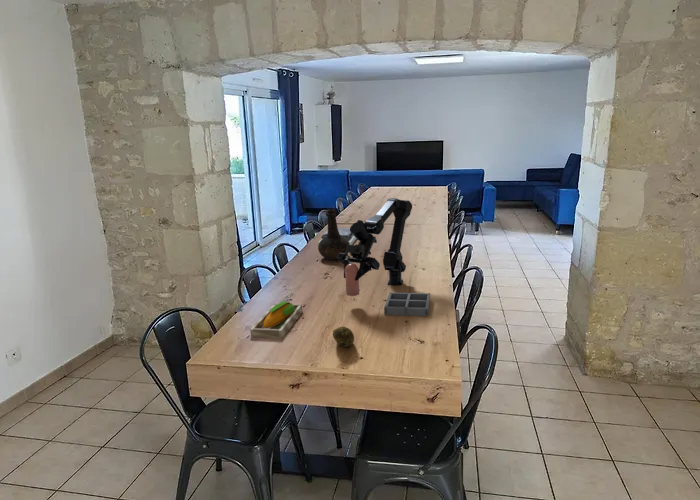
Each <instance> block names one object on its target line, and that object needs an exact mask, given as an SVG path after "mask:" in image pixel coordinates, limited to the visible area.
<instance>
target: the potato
mask: <svg viewBox="0 0 700 500" xmlns="http://www.w3.org/2000/svg"><path fill="white" fill-rule="evenodd" d="M332 337H333V339H334V341H335V342H336V343H337V345H338V347H344V348H348V347H350V346H351V345H352V344H353V343H354V342H355V334H354V332H353V331H352V329H350V328H348V327H347V326H338V327H336V328H335V329H333V331H332Z"/></svg>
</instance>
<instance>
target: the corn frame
mask: <svg viewBox="0 0 700 500" xmlns="http://www.w3.org/2000/svg"><path fill="white" fill-rule="evenodd" d="M277 304H278V303H273V304H272V306H271V307H270V308H269V309H268V310H267V311H266V312H265V313H264V314H263V315H262V316H261V317H260V318H259V319H258V320H257V322H256V323H255V324H254V325H253V326H252V327H251V328H250V329H249V331H250V337H251V338H252V337H253V338H267V339H268V338H270V339H283V338H284V336H285V335H286V334H287V333H288V331H289V330H290V328H291V327H292V326H293V325H294V323H295V322H296V320H298V318H299V316H301V314H302V313H303V305H302V304H294V303H292V304H293V306H294V308H295V310H294V312H293V313H292V315H291V316H290V317H288V318H287V319H288V320H287V319H286V320H287V321H286V320H285V321H286V322H285V323H284V324H283V325H282V326H281V327H280V328H278V329H276V328H264V327H263V323H264V321H265V319H266V317H267V316H268V315H269V314H270V313H271V312H270V310H271V309H272V308H273V307H274V306H275V305H277Z"/></svg>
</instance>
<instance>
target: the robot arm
mask: <svg viewBox="0 0 700 500" xmlns="http://www.w3.org/2000/svg"><path fill="white" fill-rule="evenodd" d="M412 210H413V204H412V203H411V201H410V200H407V199H405V200H404V199H398V198H394V197H393V198H391V197H389V198H388V199H387V200H386V202H385V203H384V205H383V206H382V207H381V208H380V209H379V211H377V213H376V214H375V215H374V216H371V217H369V218H368V219H366V220H365V222H364V221H363V220H362V219H361V220H360V219H358V220H357V221H356V222H354V223H353V224H351V225H350V227H349V228H350V232H351V233H352V234H353V235H354V236H355V238H356V241H359V242H358V244H352V245H347V248H346V252H349V253H348V254H349V255H350V256H349V255H348V254H346V253H338V255H337V257H336V258H337V259H338V261H339V262H340V263H341V264H342V265H343V278H344V279H346V278H345V268H346V266H347V265H348V264H350V263H353V264H355V263H356V264H359V267H358V272H357V275H356V277H355V280H356V281H357V280H358V279H359V280H360V278H362V277H363V276H364V275H365V274H367V273H369V272H370V271H372V270H375V271H376V270H377V271H378V270H379V269H380V266H381V265H380V262H379V261H378V260H377V259H376V257H373V256H372V257H371V256H369V255H371V254H372V253H371V250H372V247H373V244H377V243H378V240H377V238H376V236H374V235H380V234H381V233H382V232H383V230H384V228H385V223H386V221H387V220H388V218H390V216H392V214H393V216H394V223H393V227H392V228H393V229H392V233H391V238H390V239H391V240H390V245H389V248H388V250H387V251H386V250H385V252H383V259H382V264H383V268H384V270H385V271H388V282H387V285H389V286H391V285H392V286H393V285H394V286H395V285H396V286H401V285H403V282H404V279H402V273H405V271H406V270H407V269H406V268H407V265H406V263H405V262H404V261H403V254H402V252H401V248H402V244H403V243H402V241H403V236H404V231H405V227H406V226H405V224H406V220H407V219H408V218H409V217H410V216H411V213H412Z"/></svg>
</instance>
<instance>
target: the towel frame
mask: <svg viewBox="0 0 700 500" xmlns="http://www.w3.org/2000/svg"><path fill="white" fill-rule="evenodd" d="M321 240H322V238H321V239H320V240H319V241H318V242H317V244H318V245H319V242H320V241H321ZM355 241H357V239H356V238H355V236H354V235H352V238H351V240H350V241H349V243H350V245H354V243H355Z"/></svg>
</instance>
